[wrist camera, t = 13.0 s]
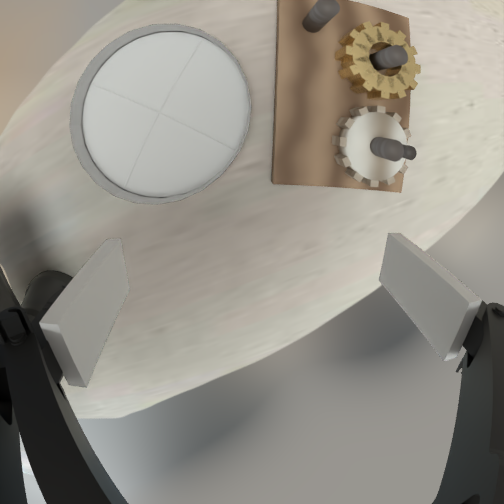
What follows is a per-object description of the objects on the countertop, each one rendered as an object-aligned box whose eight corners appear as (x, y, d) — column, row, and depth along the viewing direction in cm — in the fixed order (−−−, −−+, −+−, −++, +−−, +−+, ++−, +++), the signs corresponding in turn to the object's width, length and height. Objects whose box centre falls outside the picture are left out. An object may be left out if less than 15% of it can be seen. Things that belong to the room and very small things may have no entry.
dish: (282, 78, 32) (290, 72, 28) (198, 223, 40) (194, 237, 35) (134, 14, 27) (121, 2, 22) (64, 156, 34) (46, 162, 30)
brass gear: (334, 93, 31) (345, 90, 28) (334, 22, 27) (345, 12, 23) (403, 106, 32) (419, 106, 28) (403, 39, 28) (419, 34, 24)
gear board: (271, 180, 38) (281, 198, 29) (277, -6, 27) (289, -36, 19) (394, 189, 39) (428, 207, 31) (401, 21, 28) (436, 6, 20)
